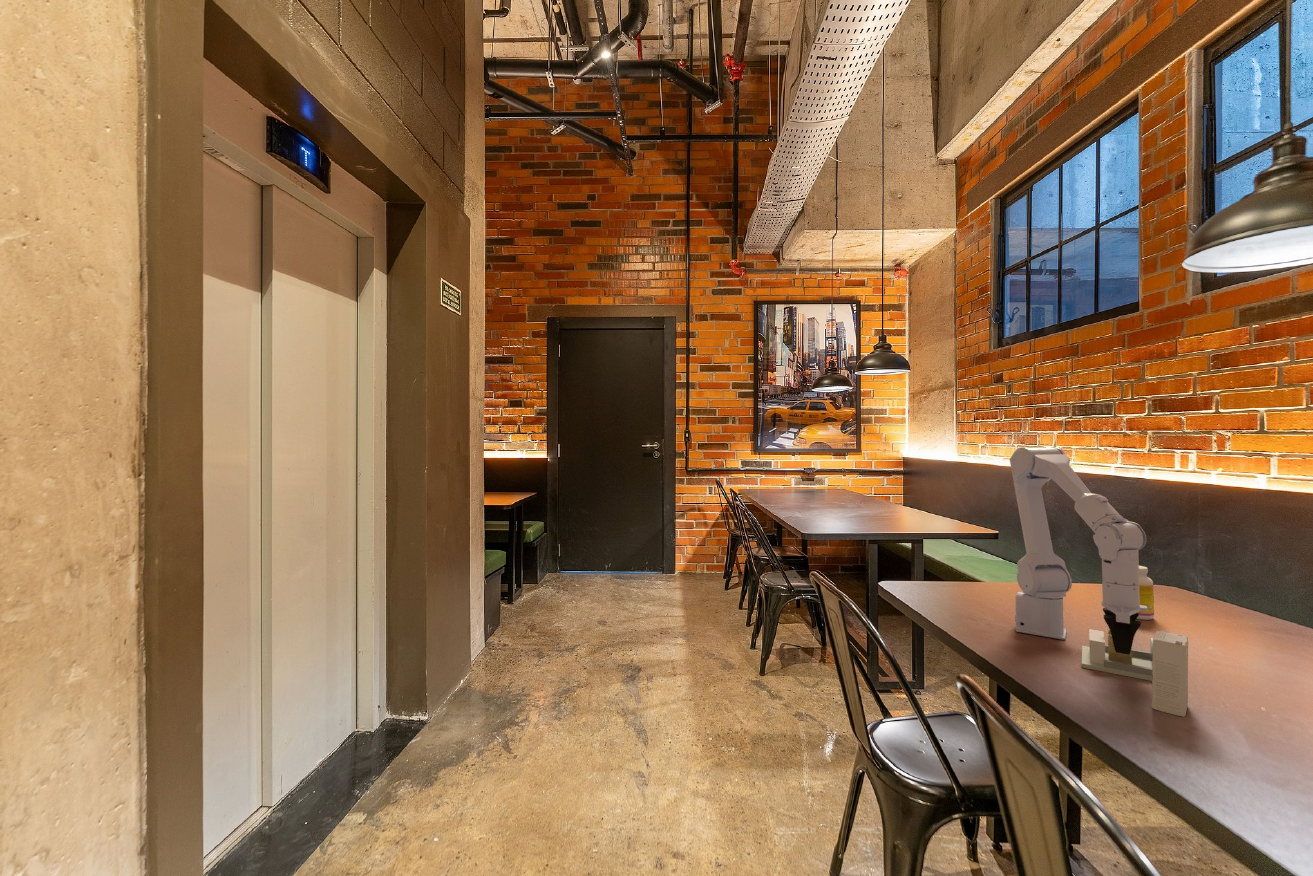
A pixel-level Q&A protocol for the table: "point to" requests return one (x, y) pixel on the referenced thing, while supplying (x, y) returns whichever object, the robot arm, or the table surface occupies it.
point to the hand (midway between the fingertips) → (1121, 649)
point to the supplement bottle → (1145, 594)
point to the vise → (1099, 660)
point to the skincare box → (1170, 673)
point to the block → (1117, 656)
